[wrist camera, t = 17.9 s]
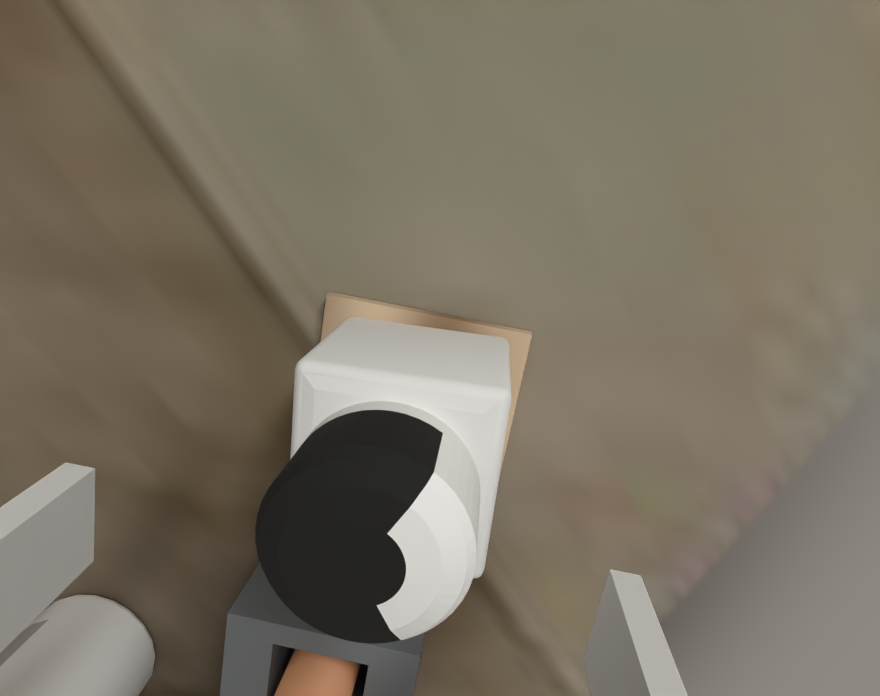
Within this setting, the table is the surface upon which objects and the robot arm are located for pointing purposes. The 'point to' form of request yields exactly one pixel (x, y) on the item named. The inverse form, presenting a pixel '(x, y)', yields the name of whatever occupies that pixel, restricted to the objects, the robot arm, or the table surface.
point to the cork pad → (349, 306)
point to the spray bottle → (79, 652)
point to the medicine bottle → (387, 478)
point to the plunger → (317, 676)
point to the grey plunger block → (303, 648)
